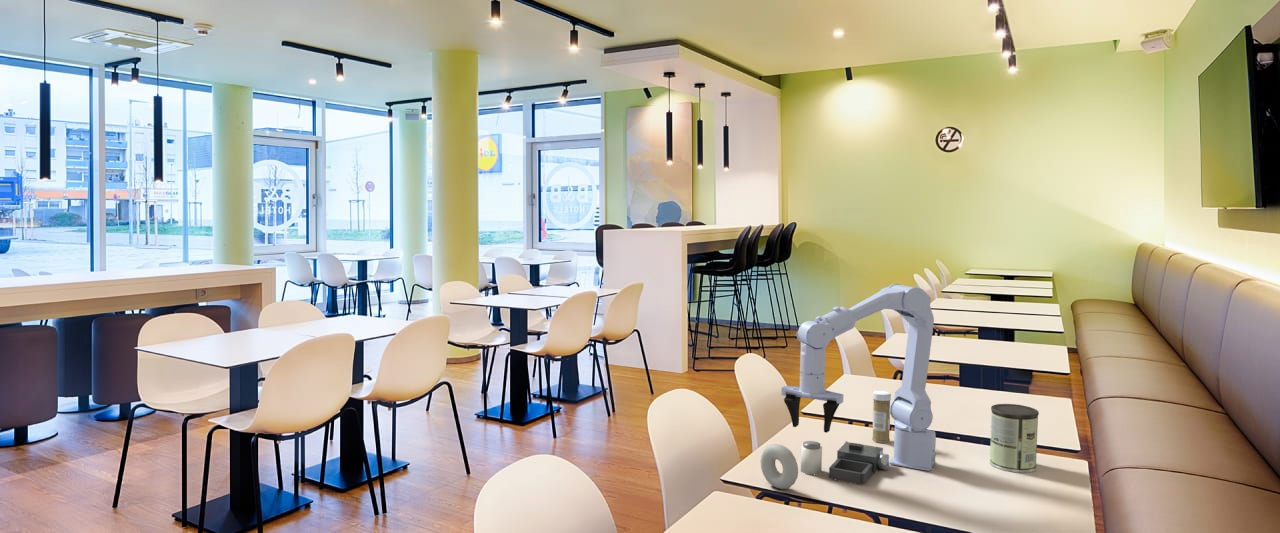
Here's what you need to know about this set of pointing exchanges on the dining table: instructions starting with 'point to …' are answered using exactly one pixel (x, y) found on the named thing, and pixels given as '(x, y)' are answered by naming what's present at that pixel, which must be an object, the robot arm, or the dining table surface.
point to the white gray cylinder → (811, 458)
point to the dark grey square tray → (850, 471)
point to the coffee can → (1014, 437)
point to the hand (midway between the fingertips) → (811, 428)
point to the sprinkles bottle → (881, 416)
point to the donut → (787, 463)
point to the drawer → (864, 455)
